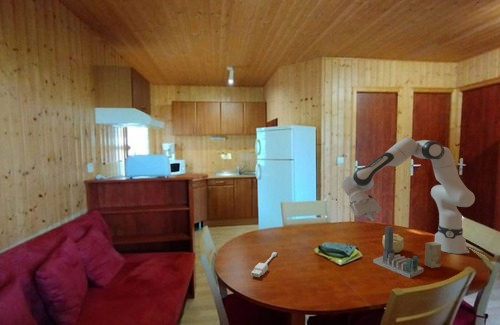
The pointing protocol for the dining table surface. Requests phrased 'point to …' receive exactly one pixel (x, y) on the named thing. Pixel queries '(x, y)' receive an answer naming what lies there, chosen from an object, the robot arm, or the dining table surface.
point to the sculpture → (395, 242)
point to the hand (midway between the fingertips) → (374, 220)
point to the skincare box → (432, 254)
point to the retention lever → (389, 239)
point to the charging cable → (262, 267)
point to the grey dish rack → (399, 264)
